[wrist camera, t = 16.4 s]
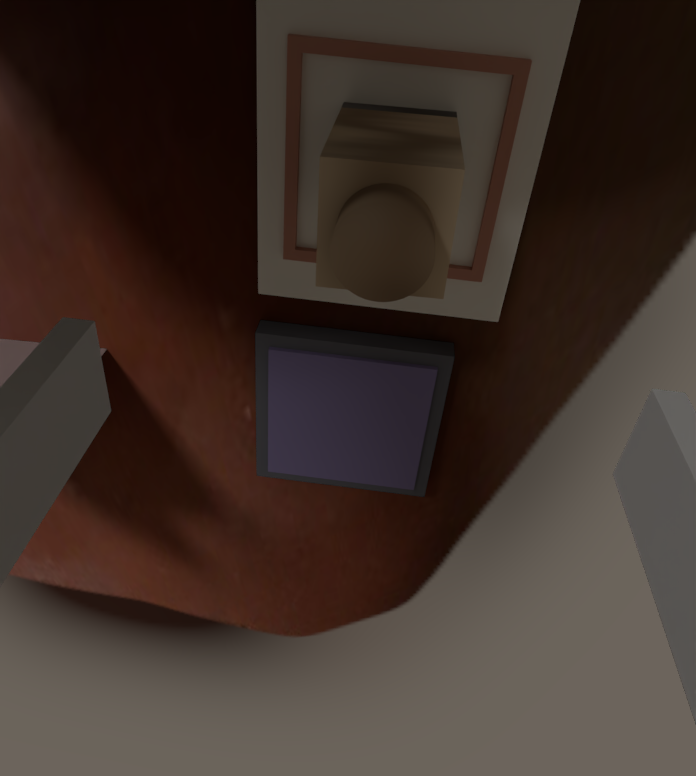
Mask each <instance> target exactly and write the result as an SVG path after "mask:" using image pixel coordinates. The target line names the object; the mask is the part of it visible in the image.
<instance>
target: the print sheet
mask: <svg viewBox="0 0 696 776" xmlns="http://www.w3.org/2000/svg"><path fill="white" fill-rule="evenodd" d="M579 4H580V0H256V44H257V199H258V294H265V295H274V296H282V297H290V298H299V299H307V300H316V301H324V302H333V303H341V304H349V305H358V306H366V307H375V308H383V309H392V310H400V311H408V312H417V313H425V314H434V315H442V316H450V317H459V318H467V319H476V320H484V321H493V322H498V321H499V317H500V313H501V309H502V305H503V301H504V297H505V293H506V290H507V286H508V282H509V278H510V274H511V270H512V266H513V262H514V258H515V254H516V250H517V247H518V243H519V239H520V235H521V231H522V227H523V223H524V219H525V215H526V211H527V207H528V204H529V200H530V196H531V192H532V188H533V184H534V180H535V176H536V172H537V168H538V164H539V161H540V157H541V153H542V149H543V145H544V141H545V137H546V133H547V129H548V125H549V121H550V118H551V114H552V110H553V106H554V102H555V98H556V94H557V90H558V86H559V82H560V78H561V75H562V71H563V67H564V63H565V59H566V55H567V51H568V47H569V43H570V39H571V35H572V32H573V28H574V24H575V20H576V16H577V12H578V8H579ZM344 102H350V103H362V104H373V105H384V106H396V107H407V108H419V109H430V110H441V111H453V112H457V119H458V125H459V132H460V139H461V145H462V152H463V159H464V165H465V174H464V180H463V186H462V192H461V198H460V203H459V209H458V215H457V221H456V227H455V233H454V239H453V245H452V251H451V257H450V263H449V269H448V275H447V280H446V286H445V292H444V298H443V299H436V298H426V297H416V296H408V297H405V298H403V299H400V300H397V301H392V302H375V301H370V300H366V299H363V298H361V297H359V296H357V295H355V294H353V293H352V292H350V291H349V290H347V289H337V288H327V287H317V286H316V255H317V224H318V193H319V163H320V155H321V152H322V150H323V148H324V146H325V143H326V141H327V139H328V137H329V134H330V132H331V130H332V128H333V125H334V123H335V121H336V118H337V116H338V114H339V112H340V109H341V107H342V105H343V103H344Z"/></svg>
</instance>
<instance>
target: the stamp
mask: <svg viewBox="0 0 696 776" xmlns="http://www.w3.org/2000/svg"><path fill="white" fill-rule="evenodd" d="M464 174H465V165H464V159H463V152H462V145H461V139H460V132H459V125H458V119H457V112H453V111H441V110H430V109H419V108H407V107H396V106H384V105H373V104H362V103H350V102H344V103H343V105H342V107H341V109H340V112H339V114H338V116H337V118H336V121H335V123H334V125H333V128H332V130H331V132H330V134H329V137H328V139H327V141H326V143H325V146H324V148H323V150H322V152H321V155H320V163H319V193H318V224H317V255H316V286H317V287H327V288H337V289H347V290H349V291H350V292H352V293H353V294H355V295H357V296H359V297H361V298H363V299H366V300H370V301H375V302H392V301H397V300H400V299H403V298H405V297H408V296H416V297H426V298H436V299H443V298H444V292H445V286H446V280H447V275H448V269H449V263H450V257H451V251H452V245H453V239H454V233H455V227H456V221H457V215H458V209H459V203H460V198H461V192H462V186H463V180H464Z"/></svg>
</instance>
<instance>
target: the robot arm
mask: <svg viewBox="0 0 696 776" xmlns="http://www.w3.org/2000/svg"><path fill="white" fill-rule="evenodd" d="M110 412H111V406H110V401H109V396H108V390H107V385H106V380H105V374H104V369H103V363H102V358H101V353H100V347H99V342H98V337H97V331H96V326H95V321H89V320H81V319H73V318H65V317H63V318H62V319H61V320H60V321H59V322H58V323H57V325H56V326H55V327H54V328H53V329H52V330H51V331H50V332H49V334H48V335H47V336H46V337H45V338H44V339H43V340H42V341H41V342H40V344H39V345H38V346H37V347H36V348H35V349H34V350H33V351H32V352H31V354H30V355H29V356H28V357H27V358H26V359H25V360H24V361H23V363H22V364H21V365H20V366H19V367H18V368H17V369H16V370H15V371H14V373H13V374H12V375H11V376H10V377H9V378H8V379H7V380H6V381H5V383H4V384H3V385H2V386H1V387H0V586H1V585H2V583H3V582H4V580H5V579H6V577H7V575H8V574H9V572H10V571H11V569H12V568H13V566H14V564H15V563H16V561H17V560H18V558H19V556H20V555H21V553H22V552H23V550H24V549H25V547H26V545H27V544H28V542H29V541H30V539H31V537H32V536H33V534H34V533H35V531H36V530H37V528H38V526H39V525H40V523H41V522H42V520H43V518H44V517H45V515H46V514H47V512H48V511H49V509H50V507H51V506H52V504H53V503H54V501H55V499H56V498H57V496H58V495H59V493H60V492H61V490H62V488H63V487H64V485H65V484H66V482H67V480H68V479H69V477H70V476H71V474H72V473H73V471H74V469H75V468H76V466H77V465H78V463H79V461H80V460H81V458H82V457H83V455H84V454H85V452H86V450H87V449H88V447H89V446H90V444H91V442H92V441H93V439H94V438H95V436H96V435H97V433H98V431H99V430H100V428H101V427H102V425H103V423H104V422H105V420H106V419H107V417H108V416H109V414H110ZM613 476H614V479H615V482H616V486H617V488H618V492H619V494H620V498H621V501H622V503H623V506H624V510H625V513H626V515H627V518H628V522H629V524H630V528H631V531H632V534H633V537H634V540H635V543H636V546H637V549H638V552H639V555H640V558H641V561H642V564H643V567H644V570H645V573H646V576H647V579H648V582H649V585H650V588H651V591H652V594H653V597H654V600H655V603H656V606H657V609H658V612H659V615H660V618H661V621H662V624H663V627H664V630H665V633H666V636H667V639H668V642H669V645H670V648H671V651H672V654H673V657H674V660H675V663H676V666H677V669H678V672H679V676H680V679H681V682H682V685H683V688H684V691H685V694H686V696H687V700H688V702H689V706H690V709H691V712H692V715H693V718H694V721H695V724H696V412H695V410H694V408H693V406H692V405H691V403H690V400H689V399H688V397H687V395H686V393H684V392H675V391H667V390H658V389H652V390H651V392H650V394H649V396H648V398H647V400H646V402H645V405H644V407H643V409H642V412H641V413H640V416H639V418H638V420H637V422H636V424H635V427H634V429H633V431H632V433H631V435H630V437H629V440H628V442H627V444H626V446H625V448H624V450H623V453H622V455H621V457H620V459H619V461H618V463H617V466H616V468H615V470H614V472H613Z"/></svg>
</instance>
